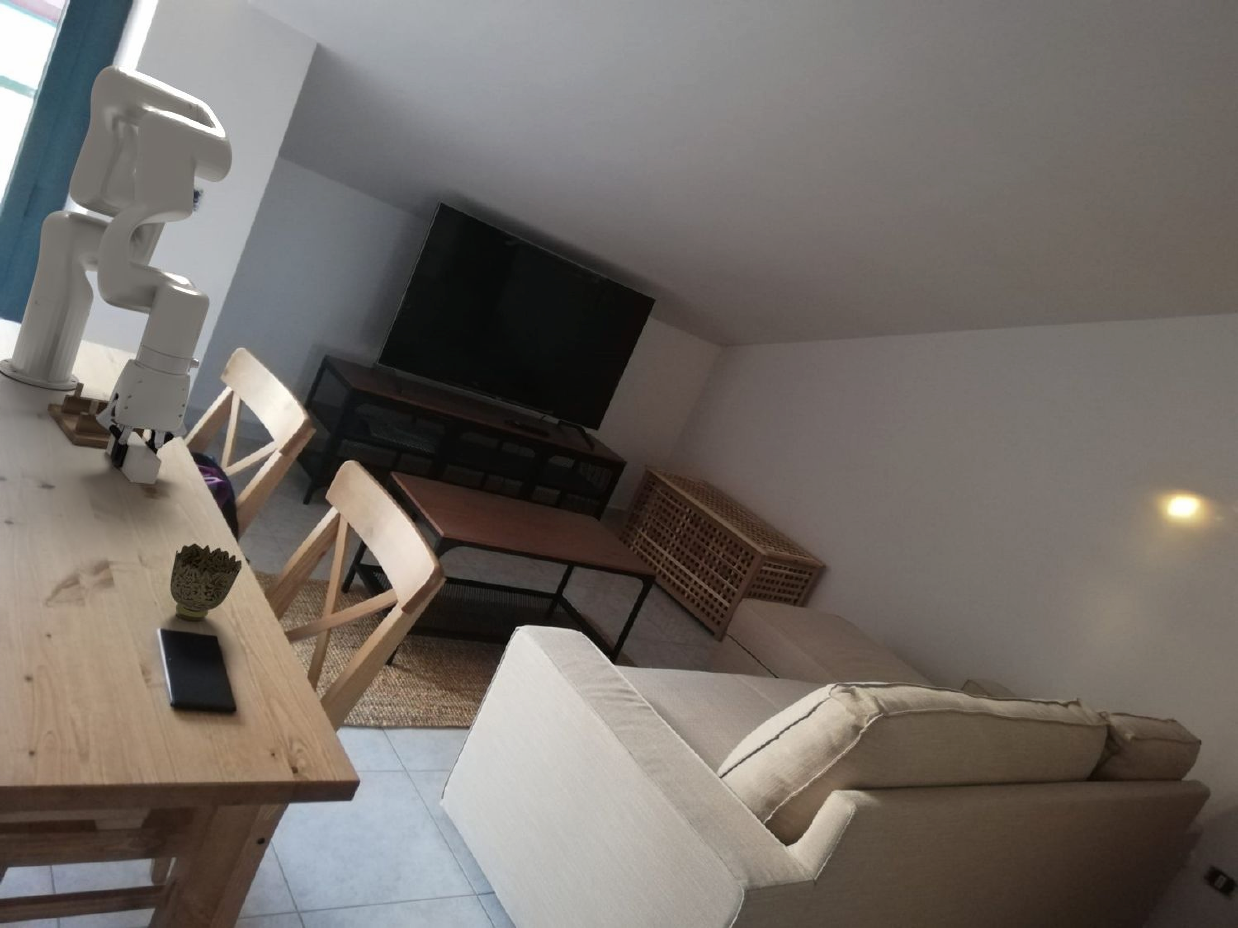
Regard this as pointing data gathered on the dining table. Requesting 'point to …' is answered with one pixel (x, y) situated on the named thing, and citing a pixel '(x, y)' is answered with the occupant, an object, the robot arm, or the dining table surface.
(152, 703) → the dining table surface
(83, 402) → the walnut rack
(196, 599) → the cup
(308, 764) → the dining table surface
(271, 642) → the dining table surface
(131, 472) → the white rectangular block
